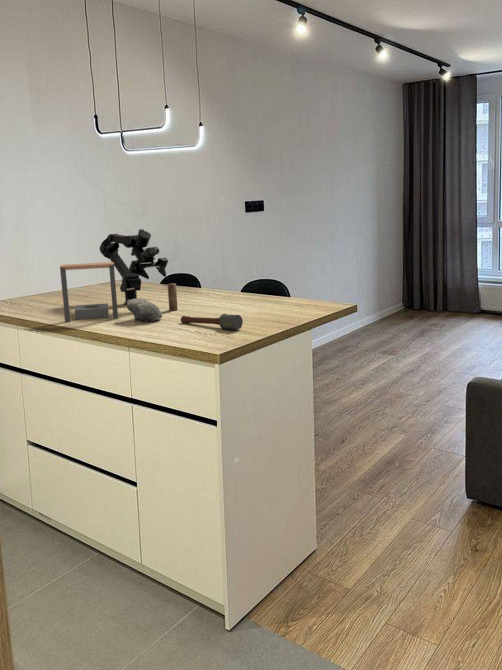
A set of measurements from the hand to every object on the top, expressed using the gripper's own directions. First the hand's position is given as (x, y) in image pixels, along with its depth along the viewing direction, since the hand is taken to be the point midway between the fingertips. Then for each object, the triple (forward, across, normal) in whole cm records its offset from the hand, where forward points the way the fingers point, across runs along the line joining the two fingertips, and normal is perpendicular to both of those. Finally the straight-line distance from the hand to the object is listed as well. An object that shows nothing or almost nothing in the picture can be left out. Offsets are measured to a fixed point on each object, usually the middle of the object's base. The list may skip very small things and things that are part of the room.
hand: (157, 277), depth 289 cm
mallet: (+50, -10, -20) cm, 55 cm away
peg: (+15, +2, +6) cm, 17 cm away
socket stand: (+4, -30, +16) cm, 34 cm away
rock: (+24, -19, 0) cm, 31 cm away
